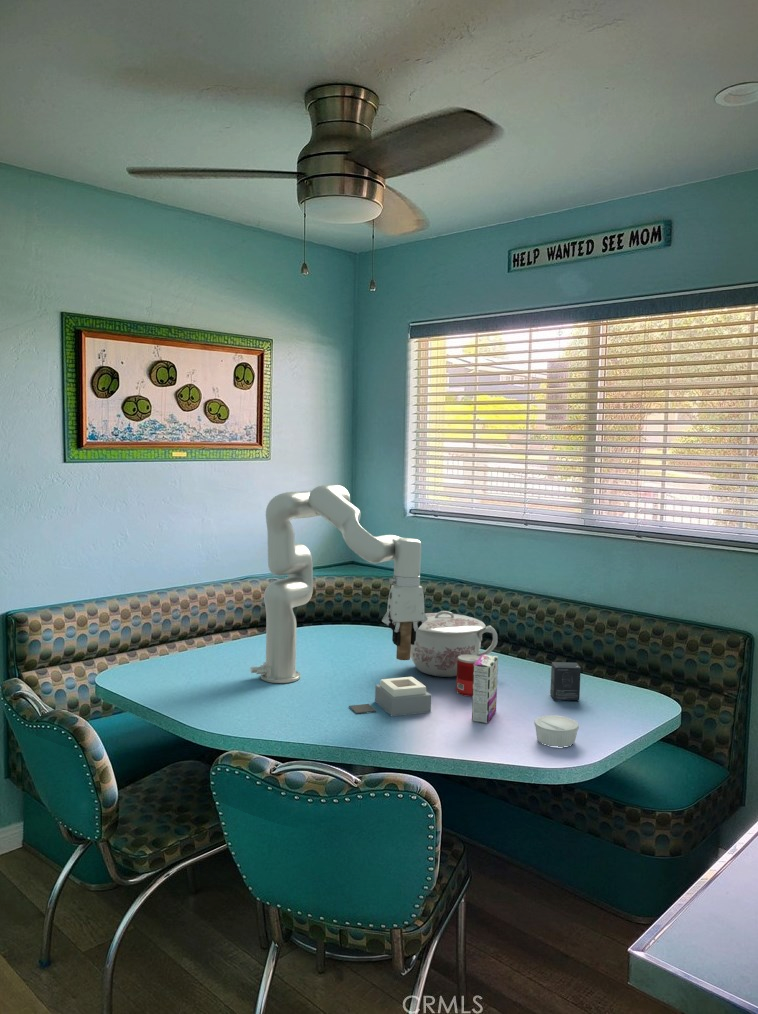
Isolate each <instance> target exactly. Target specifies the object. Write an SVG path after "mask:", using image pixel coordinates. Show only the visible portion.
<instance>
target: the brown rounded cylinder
mask: <svg viewBox="0 0 758 1014" xmlns="http://www.w3.org/2000/svg"><path fill="white" fill-rule="evenodd" d="M411 630H412V622H400V626H399V632H400V645H399V646H396V655H395V656H396V659H397V660H399V661H409V660H411V657H410V652H411Z"/></svg>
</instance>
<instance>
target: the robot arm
mask: <svg viewBox="0 0 758 1014" xmlns="http://www.w3.org/2000/svg"><path fill="white" fill-rule="evenodd" d="M361 515H362V514H361V510H360V509H359V507H357V506H355V505H354V504H353V503H352V502H351V495H350V493H349V491H348V489H347V488H345V487H344V486H342V485H340V484H324V485H323V484H322V485H317V486H316V487H314V488H313V489H312V490H302V491H289V492H288V491H287V492H283V493H282V492H281V493H279V494H276V495H275V496H273V497H272V498H271V499H270V500H269V502H268V503H267V505H266V509H265V522H266V528H267V529H266V532H267V567H268V570H269V571H270V573H271V574H273V575H275V576H279V577H280V576H288V578H287V577H286V578H282V579H277V580H275V581H272V582H271V583H269V584H268V585H267V586H266V588H265V590H264V593H263V602H264V608H265V614H266V615H265V618H266V621H265V622H266V625H265V626H266V628H265V629H266V631H265V632H266V634H265V638H266V639H265V661H264V662H263V663H262V664H260V666H251V667H250V674H254V673H255V674H256V675H260V679H261V680H262V681H264V682H267V683H273V684H288V683H292V682H296V681H298V680H299V679H301V673H300V672H299V671H298V670H296V666H297V665H296V663H297V661H296V659H297V618H296V615H295V613H294V608H296V607H300V606H303V605H306V604H307V603H309V601H310V600H311V598H312V597H313V596H312V595H313V593H314V592H313V591H314V573H313V572H314V571H313V570H314V566H313V556H312V553H311V551H310V550H309V548H308V547H307V545H305V544H302V543H298V542H297V543H296V541H295V529H294V527H293V525H292V523H291V520H296V519H298V520H299V519H308V518H315V517H319V516H321V517H322V518H323V519H325V520H326V521H328V522H329V523H330V524H331V525H332V526H334V527H335V528H336V529H337V530H339V531H340V532H341V535H342V539H343V540H344V542H345V543H346V546H347V547H348V548H349V549H350V550H352V552H354V554H356V555H357V556H359V557H360V558H362V559H363V560H364V561H366V562H368V563H371V564H380V563H383V562H390V561H393V562H394V564H393V565H394V566H393V575H392V577H389V579H388V581H389V583H392V585H391V586H390V590H389V595H388V600H387V609H386V612H385V614H384V615H383V617H382V618H381V622H382V623H384V624H385V625H387V626H388V627H389V629H391V631H392V637H391V639H392V643H393V644H394V645H395V646H396V647H397V646H399V645H400V632H399V626H400V622H412V630H411V644H412V645H414V644H415V641H416V631H417V630H418V628H419V627H420V626H421V625H422V623H424V622H425V621H427V620H428V618H427V616H426V615H425V597H424V588H423V586H422V585H421V568H422V567H421V565H422V541H420V540H419V539H418V538H411V537H401V536H399V535H395V534H383V535H378V536H374V535H373V534H372V533H370V532H369V531H367V530H366V529H365V528H364V527H362V525H361V524H360V523H359V522H360V520H361ZM390 620H391V621H392V622H391V621H390Z"/></svg>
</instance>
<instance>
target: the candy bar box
mask: <svg viewBox="0 0 758 1014" xmlns="http://www.w3.org/2000/svg"><path fill="white" fill-rule="evenodd" d="M498 661H499V656H498V655H491V654H487V655H482V656H481V657H480V658H479V659H478V660H477V661H476V663H475V664H474V666H473V696H472V702H471V703H472V707H471V710H472V711H471V712H472V713H471V722H474V723H478V724H479V723H481V724H487V725H488V724H489V723H490V721H491V720H492V718H493V716H495V713H496V712H497V693H498V670H499V669H498V668H499V667H498V665H499V662H498Z"/></svg>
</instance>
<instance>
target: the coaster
mask: <svg viewBox="0 0 758 1014" xmlns="http://www.w3.org/2000/svg"><path fill="white" fill-rule="evenodd" d="M348 707H350V708H351V709H352V712H353V713H355V715H359V714H360V713H362V714H368V713H367V712H371V713H376V712H377V710H376V709H375V708H374V707H373V706H372V705H371V704H369V703H364V704H361V703H360V704H353V705H349V706H348ZM360 715H361V714H360Z"/></svg>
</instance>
